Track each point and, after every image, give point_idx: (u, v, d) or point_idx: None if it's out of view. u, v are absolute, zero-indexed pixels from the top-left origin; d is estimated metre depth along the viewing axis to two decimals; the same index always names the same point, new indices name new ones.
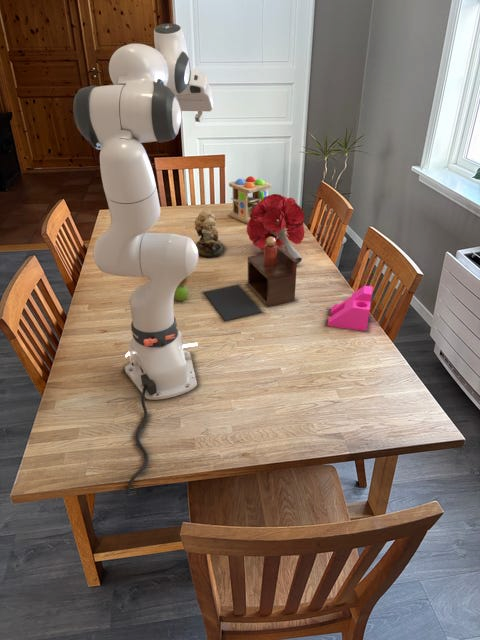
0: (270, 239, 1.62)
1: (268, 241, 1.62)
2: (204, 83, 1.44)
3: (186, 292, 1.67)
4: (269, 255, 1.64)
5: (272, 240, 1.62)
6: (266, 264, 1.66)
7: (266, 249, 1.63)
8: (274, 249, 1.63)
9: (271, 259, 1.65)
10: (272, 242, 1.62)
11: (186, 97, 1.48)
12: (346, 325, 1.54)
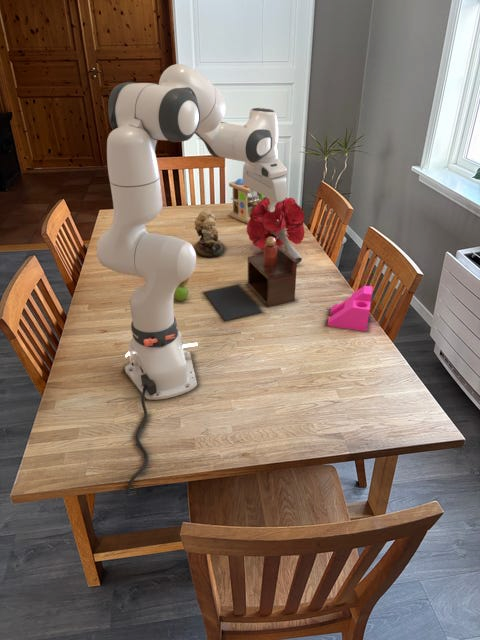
0: (270, 239, 1.62)
1: (268, 241, 1.62)
2: (275, 171, 1.46)
3: (186, 292, 1.67)
4: (269, 255, 1.64)
5: (272, 240, 1.62)
6: (266, 264, 1.66)
7: (266, 249, 1.63)
8: (274, 249, 1.63)
9: (271, 259, 1.65)
10: (272, 242, 1.62)
11: (263, 180, 1.52)
12: (346, 325, 1.54)
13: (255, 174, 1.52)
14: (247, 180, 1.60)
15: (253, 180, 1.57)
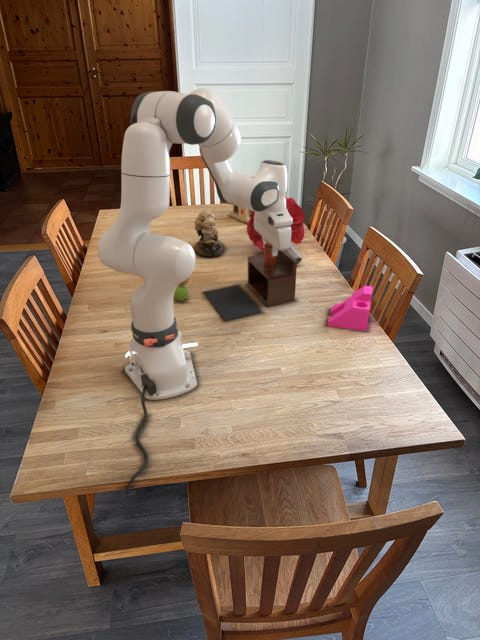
0: None
1: (268, 241, 1.62)
2: (280, 221, 1.51)
3: (186, 292, 1.67)
4: (269, 255, 1.64)
5: None
6: (266, 264, 1.66)
7: (266, 249, 1.63)
8: None
9: (271, 259, 1.65)
10: None
11: (270, 228, 1.58)
12: (346, 325, 1.54)
13: (263, 221, 1.58)
14: (257, 226, 1.66)
15: (262, 226, 1.62)
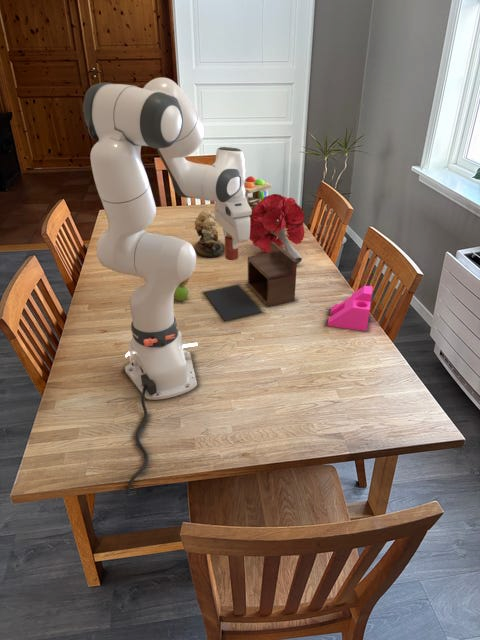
0: None
1: (228, 233, 1.54)
2: (237, 211, 1.42)
3: (186, 292, 1.67)
4: (230, 247, 1.55)
5: None
6: (227, 257, 1.58)
7: (226, 241, 1.55)
8: None
9: (232, 252, 1.56)
10: None
11: (229, 219, 1.49)
12: (346, 325, 1.54)
13: (221, 212, 1.49)
14: (217, 217, 1.58)
15: (222, 217, 1.54)
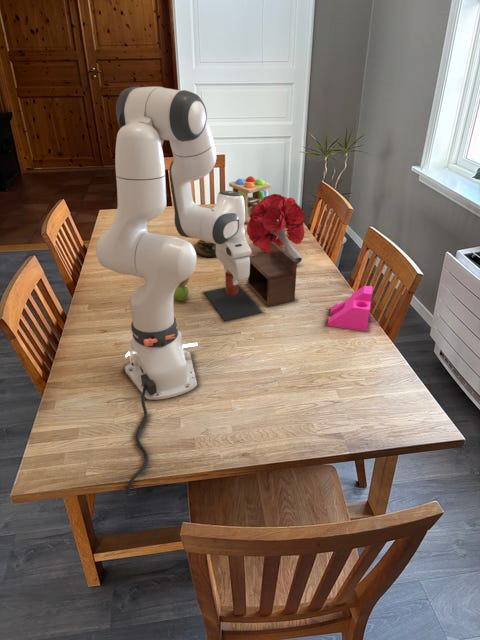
0: None
1: None
2: (237, 252, 1.49)
3: (186, 292, 1.67)
4: (230, 283, 1.62)
5: None
6: (228, 292, 1.65)
7: (227, 278, 1.62)
8: None
9: (232, 288, 1.63)
10: None
11: (229, 258, 1.56)
12: (346, 325, 1.54)
13: (222, 251, 1.56)
14: (218, 254, 1.64)
15: (223, 255, 1.61)
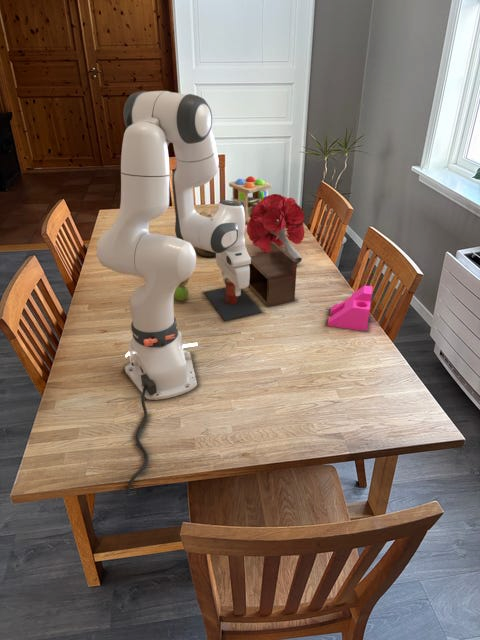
0: None
1: None
2: (238, 261, 1.51)
3: (186, 292, 1.67)
4: (230, 292, 1.64)
5: None
6: (228, 301, 1.66)
7: (227, 287, 1.64)
8: (235, 287, 1.63)
9: (232, 297, 1.65)
10: None
11: (230, 266, 1.58)
12: (346, 325, 1.54)
13: (222, 260, 1.58)
14: (219, 262, 1.66)
15: (223, 263, 1.62)
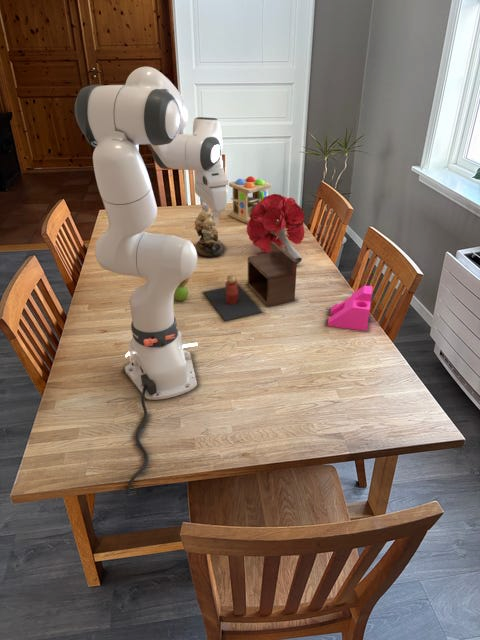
0: (231, 277, 1.62)
1: (229, 279, 1.62)
2: (214, 180, 1.44)
3: (186, 292, 1.67)
4: (230, 292, 1.64)
5: (233, 278, 1.62)
6: (228, 301, 1.66)
7: (227, 287, 1.64)
8: (235, 287, 1.63)
9: (232, 297, 1.65)
10: (233, 280, 1.62)
11: (207, 189, 1.51)
12: (346, 325, 1.54)
13: (200, 182, 1.51)
14: (197, 189, 1.60)
15: (201, 188, 1.56)
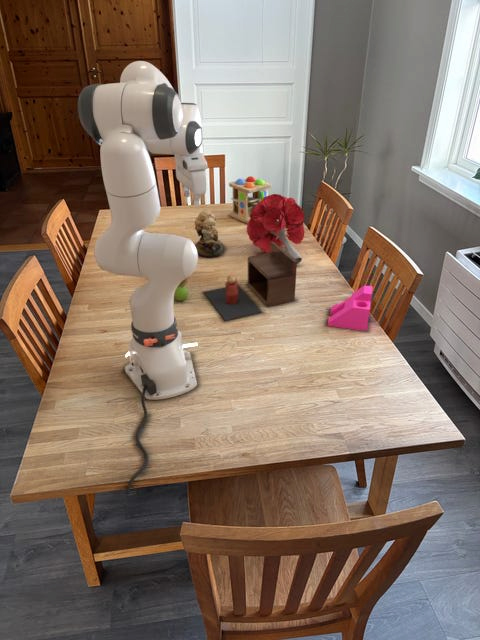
0: (231, 277, 1.62)
1: (229, 279, 1.62)
2: (193, 164, 1.48)
3: (186, 292, 1.67)
4: (230, 292, 1.64)
5: (233, 278, 1.62)
6: (228, 301, 1.66)
7: (227, 287, 1.64)
8: (235, 287, 1.63)
9: (232, 297, 1.65)
10: (233, 280, 1.62)
11: (187, 174, 1.55)
12: (346, 325, 1.54)
13: (180, 167, 1.55)
14: (178, 174, 1.63)
15: (182, 174, 1.59)
